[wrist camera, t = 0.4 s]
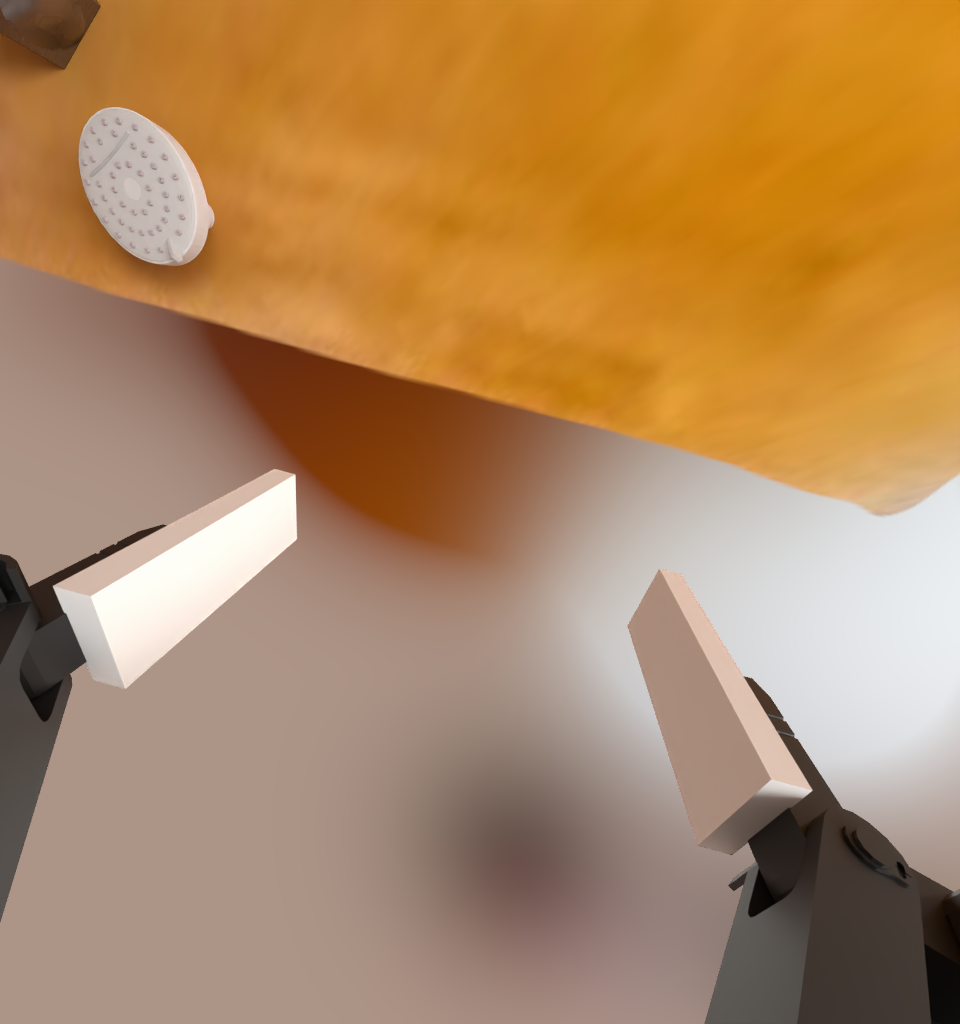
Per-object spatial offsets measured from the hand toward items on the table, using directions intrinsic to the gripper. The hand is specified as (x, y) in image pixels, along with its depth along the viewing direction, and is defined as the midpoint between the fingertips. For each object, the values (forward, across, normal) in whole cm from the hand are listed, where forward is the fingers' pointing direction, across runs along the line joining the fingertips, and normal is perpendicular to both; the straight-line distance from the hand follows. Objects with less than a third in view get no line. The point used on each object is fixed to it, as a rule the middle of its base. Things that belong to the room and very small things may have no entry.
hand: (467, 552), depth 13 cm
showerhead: (+28, -32, +10) cm, 44 cm away
